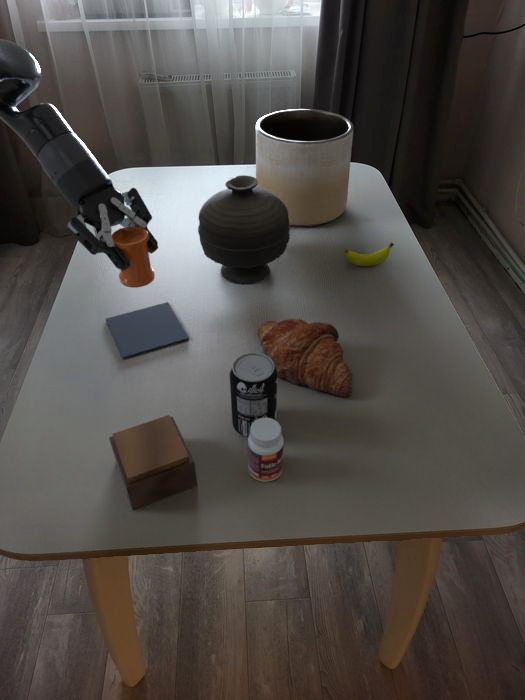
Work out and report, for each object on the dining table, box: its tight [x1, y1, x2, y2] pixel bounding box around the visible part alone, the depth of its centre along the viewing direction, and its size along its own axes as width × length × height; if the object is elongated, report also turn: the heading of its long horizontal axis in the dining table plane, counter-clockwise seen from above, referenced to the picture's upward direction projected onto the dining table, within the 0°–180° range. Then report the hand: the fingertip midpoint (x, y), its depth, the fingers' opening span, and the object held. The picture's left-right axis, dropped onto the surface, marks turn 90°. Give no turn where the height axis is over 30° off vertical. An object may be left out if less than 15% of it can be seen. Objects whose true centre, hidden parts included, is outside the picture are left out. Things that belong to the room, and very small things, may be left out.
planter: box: [255, 108, 354, 227], centre depth 130 cm, size 22×22×20 cm
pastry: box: [256, 318, 353, 398], centre depth 91 cm, size 17×15×8 cm
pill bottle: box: [247, 418, 285, 483], centre depth 74 cm, size 5×5×8 cm
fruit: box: [344, 242, 395, 267], centre depth 115 cm, size 10×2×5 cm, turn 97°
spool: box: [111, 227, 156, 289], centre depth 91 cm, size 6×6×8 cm
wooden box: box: [108, 414, 198, 511], centre depth 75 cm, size 9×9×6 cm
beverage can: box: [229, 351, 278, 439], centre depth 79 cm, size 7×7×12 cm
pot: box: [197, 174, 291, 286], centre depth 109 cm, size 18×18×20 cm
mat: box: [105, 301, 190, 360], centre depth 100 cm, size 12×12×1 cm
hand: (141, 259), depth 90 cm, fingers closed on spool, 6 cm apart
